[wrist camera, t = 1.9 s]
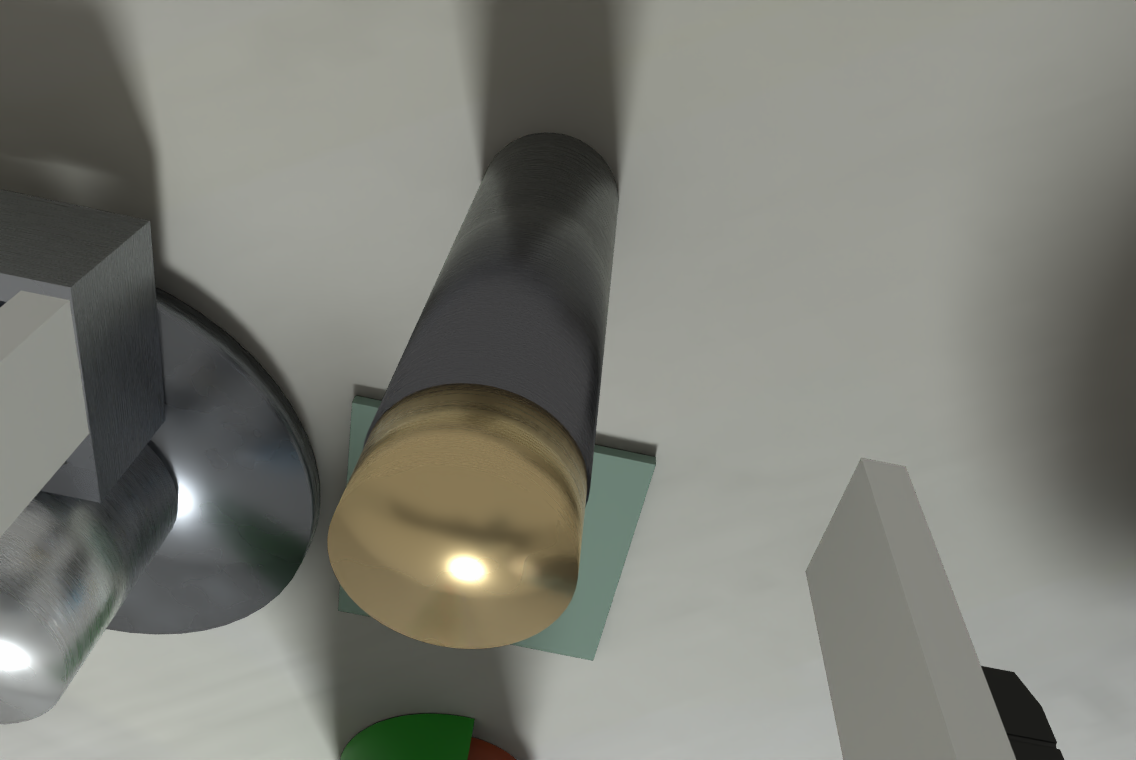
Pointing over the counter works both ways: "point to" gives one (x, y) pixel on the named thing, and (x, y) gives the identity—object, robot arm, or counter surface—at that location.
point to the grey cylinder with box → (84, 448)
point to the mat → (602, 549)
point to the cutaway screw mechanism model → (422, 740)
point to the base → (222, 484)
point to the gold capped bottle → (491, 414)
